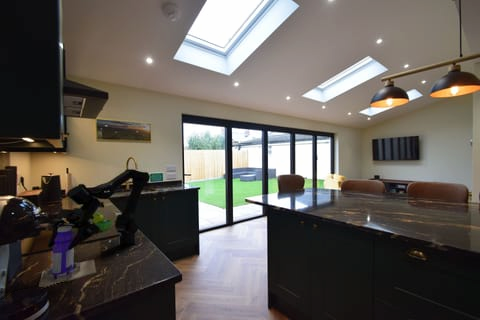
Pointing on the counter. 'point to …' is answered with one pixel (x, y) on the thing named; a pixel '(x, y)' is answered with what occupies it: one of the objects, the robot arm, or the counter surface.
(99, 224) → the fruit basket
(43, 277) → the collar plate
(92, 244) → the counter surface
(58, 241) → the bottle
